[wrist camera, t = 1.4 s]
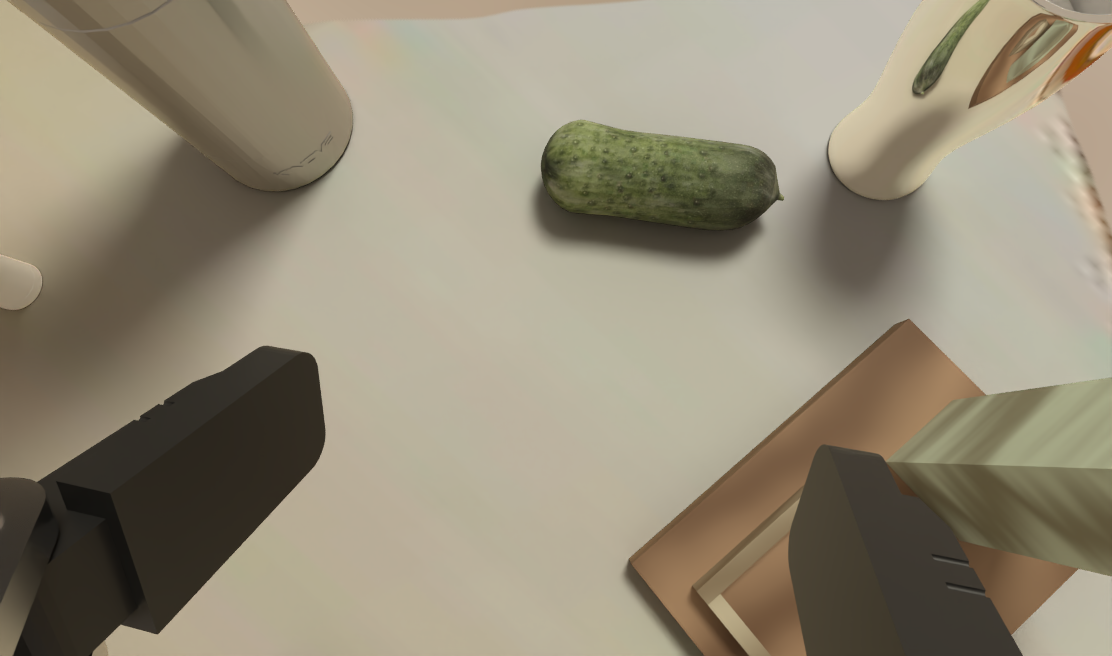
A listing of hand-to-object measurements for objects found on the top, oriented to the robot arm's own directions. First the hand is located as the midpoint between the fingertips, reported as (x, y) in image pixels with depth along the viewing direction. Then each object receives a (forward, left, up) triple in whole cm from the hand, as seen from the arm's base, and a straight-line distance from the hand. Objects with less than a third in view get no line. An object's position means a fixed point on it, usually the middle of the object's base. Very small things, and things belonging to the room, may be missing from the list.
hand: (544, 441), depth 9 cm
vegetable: (-8, +14, -24) cm, 29 cm away
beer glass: (-2, +26, -24) cm, 35 cm away
